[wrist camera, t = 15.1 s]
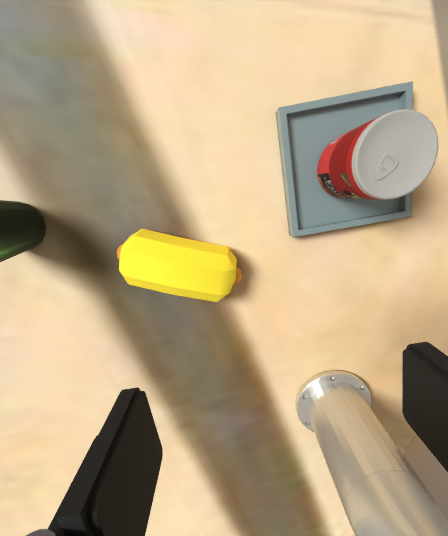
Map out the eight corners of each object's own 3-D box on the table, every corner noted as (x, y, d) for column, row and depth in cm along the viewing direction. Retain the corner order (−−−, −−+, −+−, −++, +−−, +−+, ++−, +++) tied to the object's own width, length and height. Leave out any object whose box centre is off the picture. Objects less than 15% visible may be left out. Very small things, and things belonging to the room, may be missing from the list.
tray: (401, 215, 38) (411, 216, 36) (289, 235, 38) (293, 237, 37) (401, 87, 34) (412, 81, 32) (275, 112, 34) (279, 107, 32)
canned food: (305, 187, 36) (340, 184, 25) (330, 125, 34) (380, 94, 23) (356, 206, 37) (411, 211, 26) (384, 146, 35) (456, 125, 24)
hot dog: (124, 222, 38) (118, 273, 40) (104, 228, 32) (98, 288, 34) (247, 249, 39) (235, 297, 41) (252, 260, 33) (237, 316, 35)
